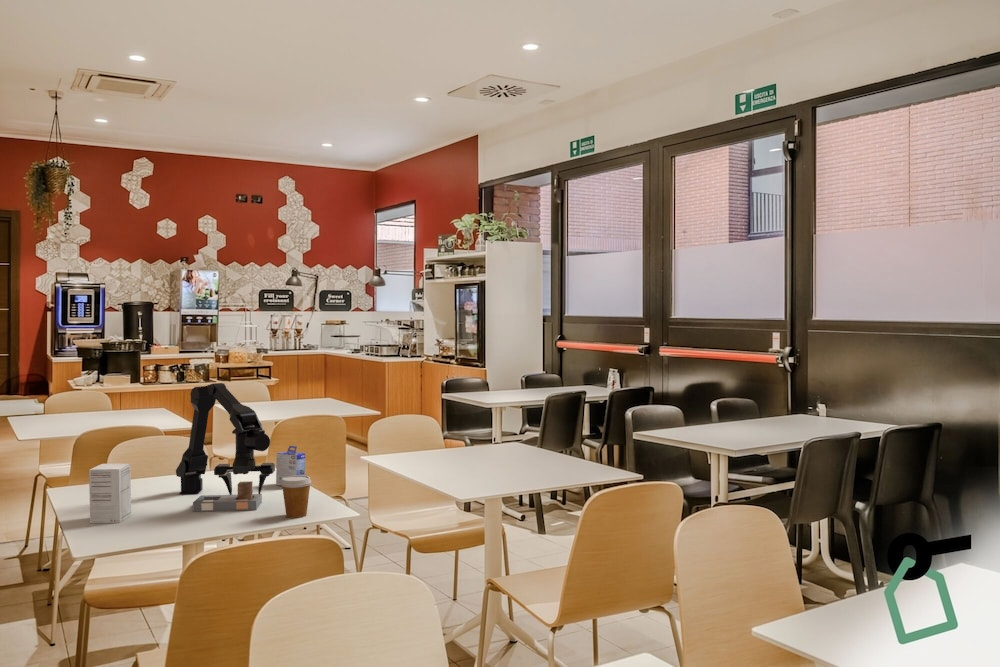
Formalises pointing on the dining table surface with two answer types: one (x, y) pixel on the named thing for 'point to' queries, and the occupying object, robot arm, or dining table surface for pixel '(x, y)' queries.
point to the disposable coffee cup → (296, 495)
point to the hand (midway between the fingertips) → (245, 494)
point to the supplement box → (110, 493)
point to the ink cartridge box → (289, 464)
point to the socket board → (226, 503)
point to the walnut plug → (245, 490)
